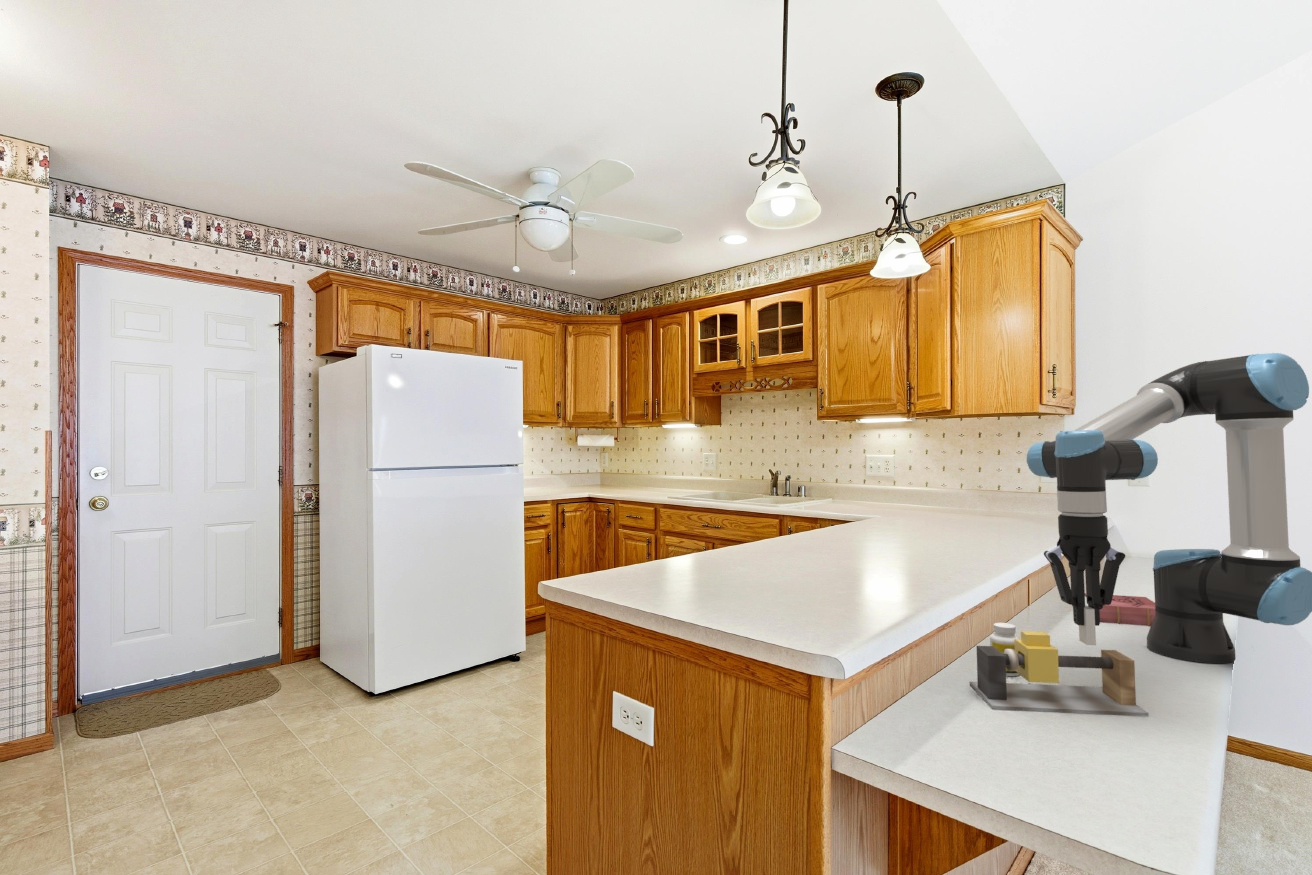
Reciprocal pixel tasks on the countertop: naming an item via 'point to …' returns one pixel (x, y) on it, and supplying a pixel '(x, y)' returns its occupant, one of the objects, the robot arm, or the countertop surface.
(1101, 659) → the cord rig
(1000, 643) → the supplement bottle
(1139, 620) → the book
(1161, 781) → the countertop surface
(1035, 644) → the sleeve
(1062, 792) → the countertop surface
